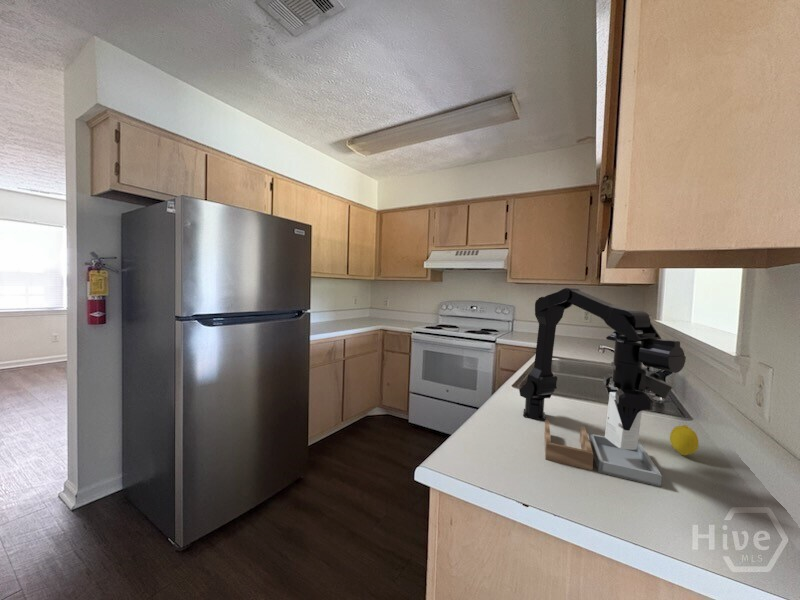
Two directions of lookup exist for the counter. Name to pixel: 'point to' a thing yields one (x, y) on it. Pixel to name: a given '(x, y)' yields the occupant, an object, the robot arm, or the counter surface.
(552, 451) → the bay
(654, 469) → the tray
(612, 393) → the skincare box
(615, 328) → the robot arm
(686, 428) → the lemon
